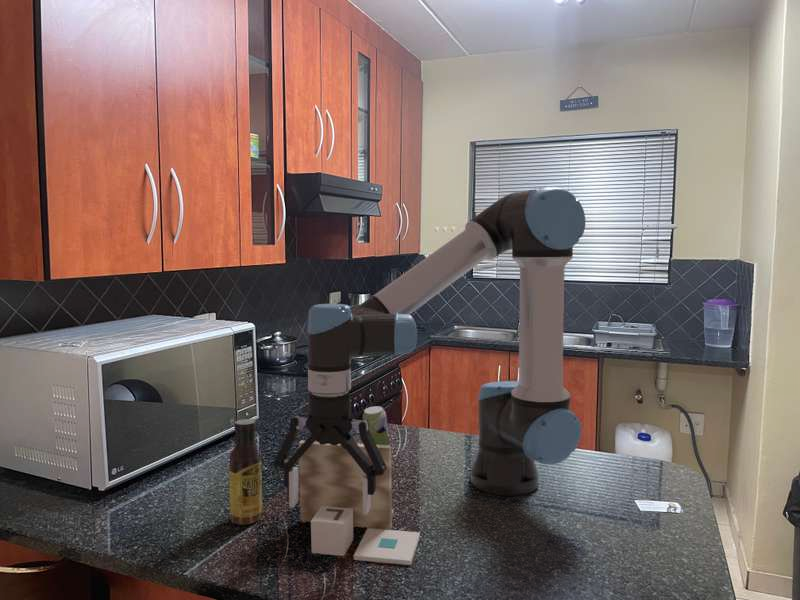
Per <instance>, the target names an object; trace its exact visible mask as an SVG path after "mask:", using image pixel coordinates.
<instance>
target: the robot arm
mask: <svg viewBox="0 0 800 600" xmlns="http://www.w3.org/2000/svg"><path fill="white" fill-rule="evenodd" d="M464 228H465V229H464V230H463V231H462V232H460V233H459V234H457V235H455V236H454V237H453V238H452V239H450V240H449V241H447V242H446V243H445V244H443V245H442V246H440V247H439V248H438V249H436V250H435V251H434V252H432V253H431V254H430V255H428V256H427V257H425V258H423V259H422V260H421V261H420V262H418V263H417V264H415V265H414V266H413V267H411V268H410V269H408V270H407V271H406V272H404V273H403V274H401V275H400V276H399V277H397V278H396V279H394V280H393V281H392V282H391V283H390V282H389V284H387V285H386V286H384V288H382V289H381V290H379V291H377V292H376V293H375V294H373V295H372V296H371V297H369V298H368V299H366V300H365V301H363V302H362V303H361V304H354V305H348V304H344V303H319V304H314V305H312V306H311V307H310V308H309V310H308V317H307V330H306V334H307V364H308V365H307V388H308V391H309V394H307V404H308V405H307V412H308V413H307V415H308V416H307V417H303V416H302V415H301V414H297V415H295V416H293V417H292V418H291V419H290V423H289V424H290V425H289V430H288V433H287V435H286V437H285V439H284V441H283V443H282V444H281V447H280V449H279V450H278V453H277V455H276V457H275V459H274V460H273V465H274V467H275V468H278V467H279V468H280V469H282V470H283V474H284V475H283V481H284V483H283V485H284V487H285V488H288V504H289V505H288V507H289V508H292V509H294V508H295V506H296V505H297V504H298V503H299V502H300V491H299V466H295V465H296V463H297V462H299V459H300V458H301V457H302V455H303V454H304V453H305V452H306V451H307V450H308V449H309V447H310V446H311V445H312V444H313V443H314V442H315V441H317V442H318V443H320V444H331V445H337V444H341V446H342V447H343V448H344V449H346V450H347V451H348V453H349V454H350V455H351V456H352V458H353V459H354V460H355V461H356V463H357V464H358V465H359V467H360V468H361V469H362V470H363V472H364V473H365V476H364V477H363V514H365V515H367V513H368V512H369V510H370V502H371V495H373V494H374V493H375V490H376V476H378V475H383V473H384V472H385V470H386V468H387V467H386V464H385V462H384V460H383V458H382V456H381V454H380V452H379V450H378V447H377V445H376V443H375V441H374V439H373V437H372V435H371V433H370V430H369V421H368V420H367V419H363V418H362V420H353V419H352V394H351V393H350V392H349V391H350V390H351V389H352V370H351V369H352V363H351V362H352V358H363V357H381V356H383V357H384V356H387V357H388V356H394V357H397V356H400V355H408V354H411V353H412V352H413V351H414V350H415V348H416V346H417V341H418V329H417V323H416V322H415V318H414V317H413V316H412V315H411V314H412V313H413V312H416V310H418V309H419V308H421V306H423V305H424V304H426V303H427V302H429V301H430V300H432V299H433V298H434V297H435V296H437V295H438V294H439V293H441V292H443V291H444V290H445V289H447V288H448V287H450V285H452V284H453V283H455V282H456V281H457V280H459V279H460V278H461V277H463V276H464V275H465V274H467V273H469V272H470V271H471V270H472V269H474V268H475V267H477V266H478V265H479V264H481V263H482V262H483V261H485V260H494V259H496V258H497V257H499V255H501V254H503V253H505V252H507V251H508V252H509V251H510V250H511V251H512V253H511V255H512V257H511V258H512V259H513V261H514V263H515V262H516V264H517V265H518V266H519V325H518V327H519V328H518V329H519V330H518V334H519V335H518V337H519V338H518V343H519V344H518V346H519V347H518V380H517V381H516V380H514V381H513V380H505V381H492V382H487V383H483V384H482V385H481V386H480V388H479V391H478V399H477V402H478V449H477V451H476V455H475V457H474V461H473V462H472V463H473V464H472V466H471V470H470V482H471V484H472V486H473V487H475V488H476V489H477V490H479V491H482V492H485V493H487V494H492V495H496V496H510V497H511V496H521V495H526V494H530V493H532V492H534V491H535V490H537V488H538V487H539V472H538V469H537V465H536V463H535V461H536V462H538V463H540V464H543V465H556V464H560V463H561V462H564V461H565V460H567V459H568V458H569V457H570V455H571V454H572V453H573V452H575V451H576V449H577V448H578V445H579V444H580V441H581V437H582V424H581V422H580V420H579V418H578V417H577V416H576V414H575V413H574V412H573V411H571V394H570V393H571V392H569V391H568V390H567V389H566V388H565V387H564V386H563V385H564V384H563V375H564V374H563V373H564V372H563V371H564V370H563V369H564V365H563V364H564V314H565V313H564V312H565V311H564V310H565V308H564V307H565V306H564V305H565V301H564V300H565V297H564V296H565V267H566V265H567V264H568V263H569V262H570V261H571V260H572V259H573V255H574V254H573V250H574V248H573V247H574V246H575V245H576V244H578V242H579V241H580V238H582V237H583V235H584V232H585V229H586V214H585V210H584V208H583V205H582V203H581V202H580V201H579V199H577V198H576V196H575V195H574V194H573V193H572V192H570V191H569V190H566V189H565V188H561V187H539V188H534V189H530V190H524V191H517V192H512V193H508V194H507V195H505V196H502V197H501V198H499V199H498V200H496V201H495V202H494V203H492V204H490V205H489V206H488V207H487V208H485V209H484V210H483V211H481V212H480V213H479V214H477V215H475V216H474V217H473V218H472V219H470V220H469V221H467V222H466V224H465V226H464ZM304 426H305V427H306V428H307V429H308V431H309V433H310V435H309V436H308V438H306V439H305V440H304V441H305V442H304V443H303V444H302V446H301V447H300V448H299V447H298V449H297V450H295V453H293V455H291V457H290V458H289V459H287V457H288V455H289V453H290V451H291V449H292V447H293V444H294V443H295V441H296V439H297V437H298V434H299V433H300V430H302V429H303V428H304ZM352 429H354V430H355V432H356V433H357V434H359V437H360V440H361V442H362V444H364V447H365V449H366V451H367V453H368V455H369V457H370V459H371V461H372V462H371V461H370V460H369V459H368V457H367V456H366V455H365V453H364V452H363V451H362V450H361V448H360V447H359V446H358V445H357V444H358V443H357V442H356V441H355V437H354V436H353V435H352V434H351V433H350V432H351V431H352ZM372 463H373V464H372Z"/></svg>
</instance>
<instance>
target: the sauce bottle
mask: <svg viewBox="0 0 800 600" xmlns="http://www.w3.org/2000/svg"><path fill="white" fill-rule="evenodd" d="M256 423H257V422H256V421H255V419H251V418H245V419H238V420H235V421H234V431H235V441H234V442H235V446H234V447H233V449H232V451H231V453H230V456H229V468H228V469H229V470H228V473H229V474H228V475H229V477H228V479H229V482H228V483H229V487H228V488H229V489H228V490H229V514H230V515H229V517H230V518H229V519H230V522H231V523H232V524H235V525H236V526H237V525H238V526H249V525H252V524H255V523H257V522H258V521H259V520H260V519H261V517H262V513H263V512H262V510H263V475H262V474H263V472H262V471H263V468H262V467H263V464H262V463H263V462H262V458H261V456H260V453H259V450H258V447H257V444H256V428H257V424H256Z"/></svg>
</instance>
